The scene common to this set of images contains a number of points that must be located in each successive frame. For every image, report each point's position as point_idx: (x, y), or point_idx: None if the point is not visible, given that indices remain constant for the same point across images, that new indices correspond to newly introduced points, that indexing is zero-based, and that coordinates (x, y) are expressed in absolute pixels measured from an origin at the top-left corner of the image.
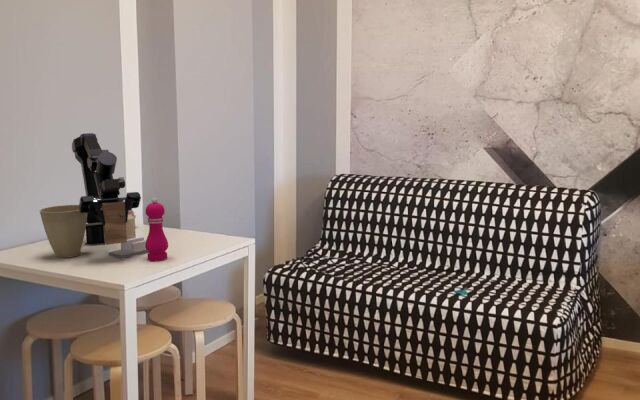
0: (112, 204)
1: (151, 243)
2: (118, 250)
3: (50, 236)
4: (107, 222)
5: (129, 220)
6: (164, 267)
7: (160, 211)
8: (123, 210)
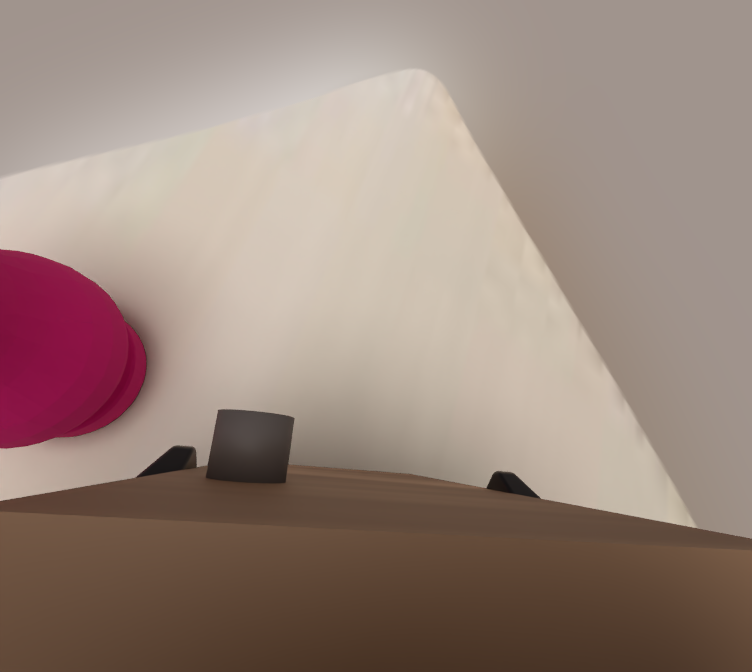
0: (532, 532)
1: (87, 286)
2: None
3: None
4: (466, 487)
5: None
6: (163, 166)
7: None
8: (169, 484)
